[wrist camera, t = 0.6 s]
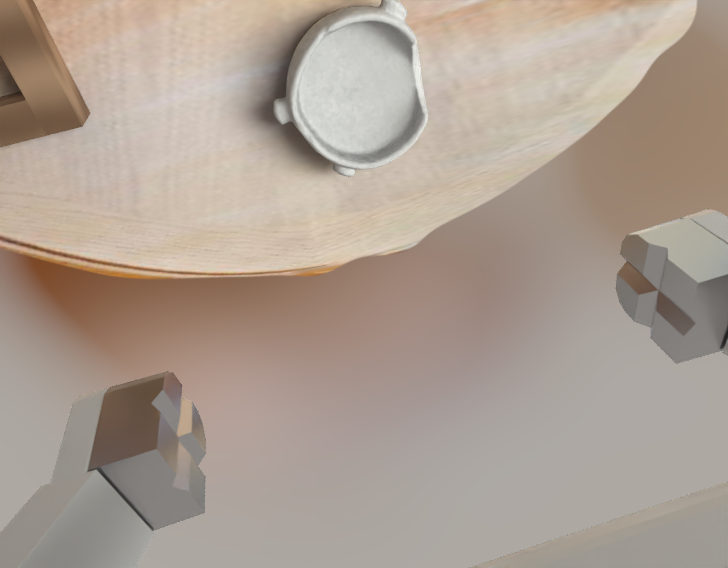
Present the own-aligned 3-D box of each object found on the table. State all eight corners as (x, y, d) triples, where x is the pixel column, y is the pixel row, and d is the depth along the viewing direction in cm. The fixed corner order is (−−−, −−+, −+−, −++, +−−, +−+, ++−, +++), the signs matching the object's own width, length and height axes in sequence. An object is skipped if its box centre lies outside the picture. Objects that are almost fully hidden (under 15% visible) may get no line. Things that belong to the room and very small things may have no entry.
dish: (378, -31, 46) (393, -24, 42) (444, 102, 54) (462, 118, 50) (244, 68, 48) (247, 83, 44) (328, 181, 56) (336, 202, 52)
